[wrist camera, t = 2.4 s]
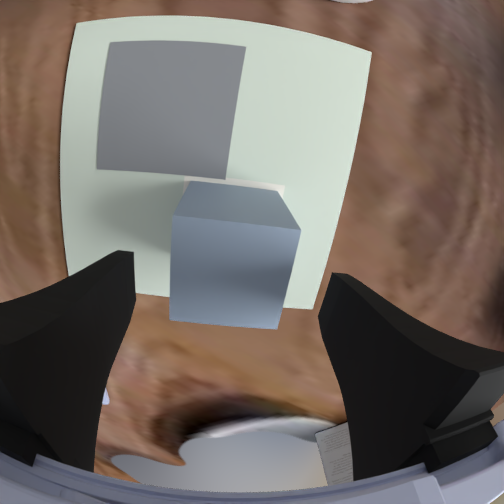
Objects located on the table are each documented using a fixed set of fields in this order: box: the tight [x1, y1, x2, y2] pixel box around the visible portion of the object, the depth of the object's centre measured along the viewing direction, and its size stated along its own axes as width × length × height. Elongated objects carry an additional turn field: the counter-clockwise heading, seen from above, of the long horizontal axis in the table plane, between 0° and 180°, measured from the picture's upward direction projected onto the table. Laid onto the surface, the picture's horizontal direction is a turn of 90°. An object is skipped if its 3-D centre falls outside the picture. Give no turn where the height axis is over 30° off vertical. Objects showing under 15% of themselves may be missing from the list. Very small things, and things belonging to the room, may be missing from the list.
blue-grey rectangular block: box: [170, 181, 301, 329], centre depth 14 cm, size 4×4×6 cm
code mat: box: [60, 16, 372, 309], centre depth 15 cm, size 16×16×1 cm
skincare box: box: [315, 422, 353, 486], centre depth 22 cm, size 6×4×12 cm
